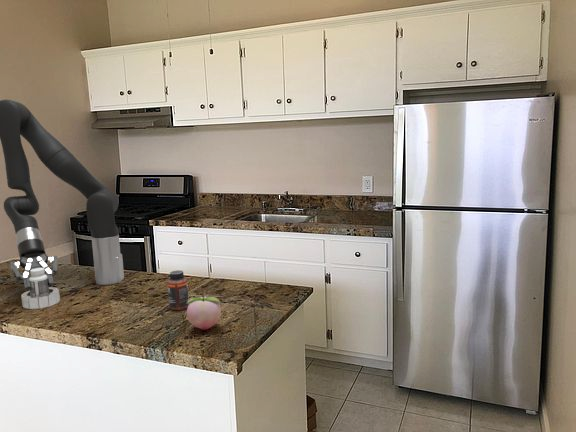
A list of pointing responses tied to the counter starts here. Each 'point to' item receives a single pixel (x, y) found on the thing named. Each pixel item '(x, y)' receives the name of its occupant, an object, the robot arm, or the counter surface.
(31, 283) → the pill bottle
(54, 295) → the ring collar
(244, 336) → the counter surface
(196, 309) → the decorative fruit
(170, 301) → the supplement bottle
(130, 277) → the counter surface
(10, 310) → the counter surface
